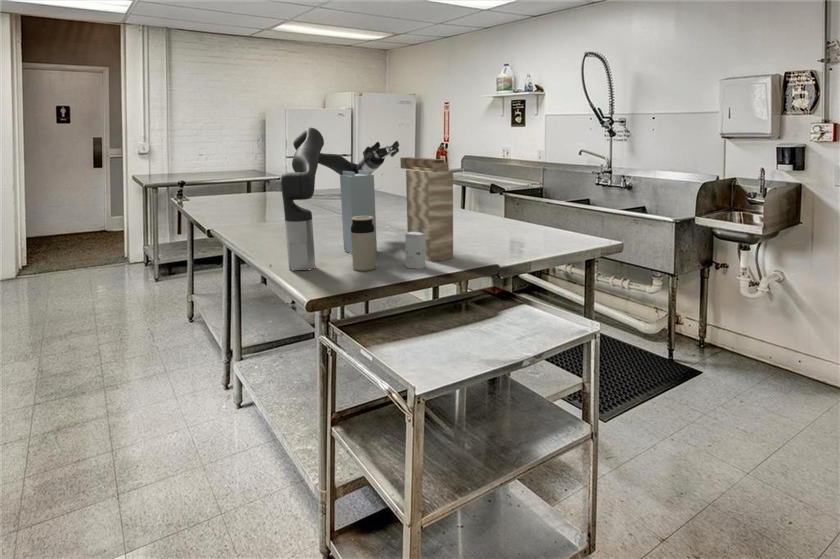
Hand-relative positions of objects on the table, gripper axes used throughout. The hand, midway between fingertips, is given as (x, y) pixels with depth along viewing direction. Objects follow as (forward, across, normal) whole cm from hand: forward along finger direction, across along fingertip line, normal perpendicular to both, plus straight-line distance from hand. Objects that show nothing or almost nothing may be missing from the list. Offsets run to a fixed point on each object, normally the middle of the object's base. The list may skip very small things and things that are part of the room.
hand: (388, 143), depth 222 cm
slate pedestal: (-16, -17, +38) cm, 44 cm away
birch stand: (+5, +1, +49) cm, 49 cm away
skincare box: (+15, -13, +54) cm, 57 cm away
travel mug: (+7, -28, +50) cm, 58 cm away
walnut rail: (+15, +2, +18) cm, 23 cm away
